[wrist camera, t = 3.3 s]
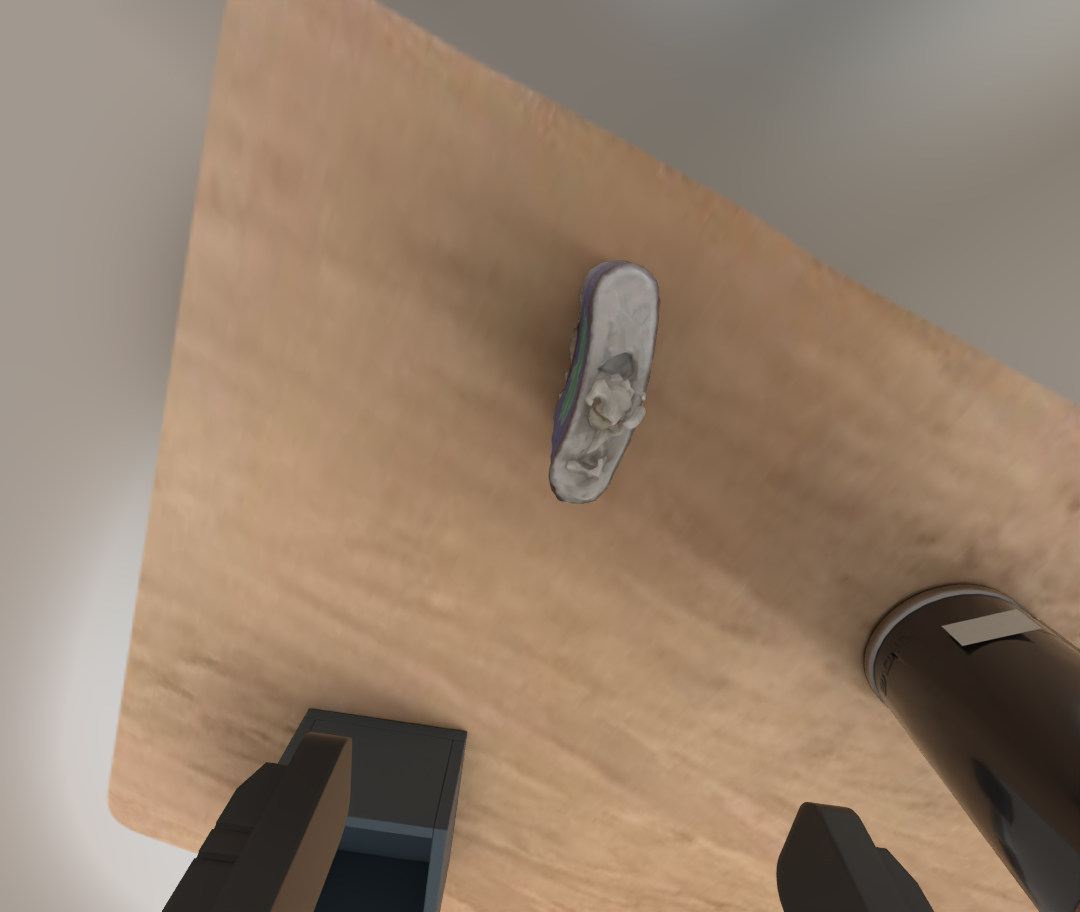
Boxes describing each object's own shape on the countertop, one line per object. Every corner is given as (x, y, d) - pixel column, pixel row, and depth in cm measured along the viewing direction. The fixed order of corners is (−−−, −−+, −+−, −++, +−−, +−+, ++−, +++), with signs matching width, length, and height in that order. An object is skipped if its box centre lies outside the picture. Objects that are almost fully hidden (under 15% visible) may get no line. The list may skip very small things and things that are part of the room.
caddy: (467, 731, 36) (447, 831, 30) (449, 861, 41) (428, 973, 34) (309, 708, 36) (255, 803, 30) (307, 841, 40) (259, 949, 34)
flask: (587, 256, 26) (605, 253, 16) (646, 270, 27) (700, 275, 16) (546, 435, 30) (540, 525, 19) (599, 446, 30) (620, 542, 20)
